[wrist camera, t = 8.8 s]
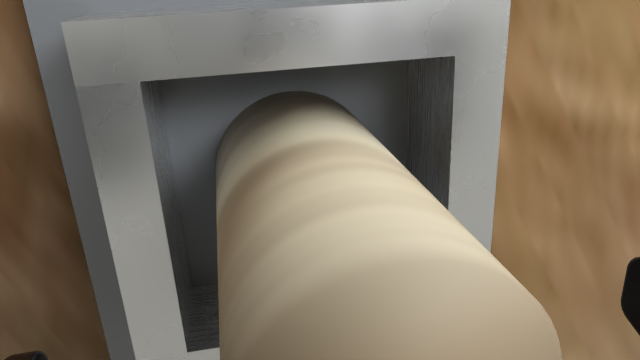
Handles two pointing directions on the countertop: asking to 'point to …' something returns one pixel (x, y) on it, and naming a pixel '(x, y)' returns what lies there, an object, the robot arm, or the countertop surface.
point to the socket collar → (257, 56)
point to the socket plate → (190, 137)
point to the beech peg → (351, 251)
